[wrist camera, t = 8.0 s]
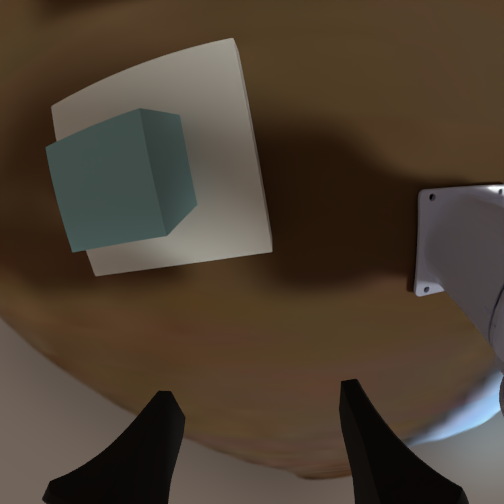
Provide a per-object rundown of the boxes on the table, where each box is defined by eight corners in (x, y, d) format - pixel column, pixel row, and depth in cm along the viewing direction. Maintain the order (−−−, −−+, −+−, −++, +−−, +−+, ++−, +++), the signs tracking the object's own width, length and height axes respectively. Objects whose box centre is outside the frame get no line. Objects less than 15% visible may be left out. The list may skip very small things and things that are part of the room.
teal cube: (179, 114, 14) (139, 108, 9) (197, 204, 15) (167, 236, 11) (101, 139, 14) (45, 147, 10) (119, 220, 16) (72, 252, 11)
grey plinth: (238, 52, 15) (232, 37, 12) (272, 233, 19) (272, 251, 16) (76, 106, 16) (51, 106, 13) (114, 258, 21) (95, 276, 18)
